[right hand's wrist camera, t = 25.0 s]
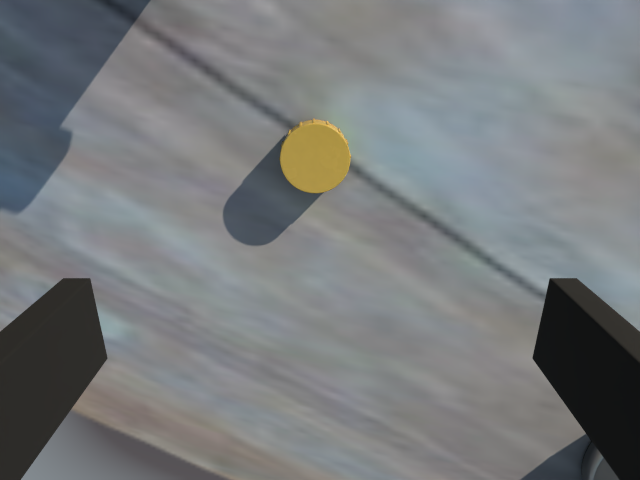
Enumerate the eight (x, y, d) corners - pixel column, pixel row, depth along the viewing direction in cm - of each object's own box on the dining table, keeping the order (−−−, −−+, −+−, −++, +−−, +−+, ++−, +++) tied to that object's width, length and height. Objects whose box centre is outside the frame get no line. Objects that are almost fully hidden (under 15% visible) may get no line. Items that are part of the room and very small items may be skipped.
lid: (325, 198, 33) (326, 206, 31) (269, 164, 32) (266, 170, 30) (361, 142, 31) (364, 148, 29) (303, 105, 30) (302, 108, 28)
